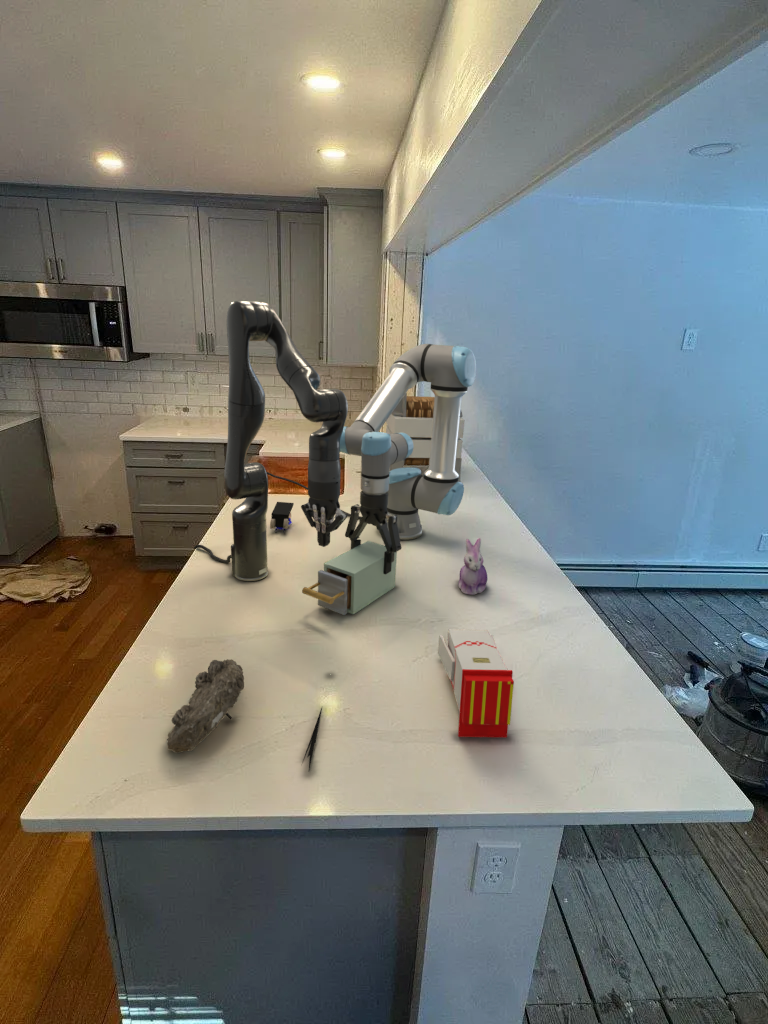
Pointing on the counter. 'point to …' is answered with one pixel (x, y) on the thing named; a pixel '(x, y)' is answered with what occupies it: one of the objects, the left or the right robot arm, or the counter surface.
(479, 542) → the figurine
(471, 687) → the toy
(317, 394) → the left robot arm
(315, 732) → the feather
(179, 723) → the fossil
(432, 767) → the counter surface
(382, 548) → the cabinet
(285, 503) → the figurine character
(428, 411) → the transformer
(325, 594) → the drawer
